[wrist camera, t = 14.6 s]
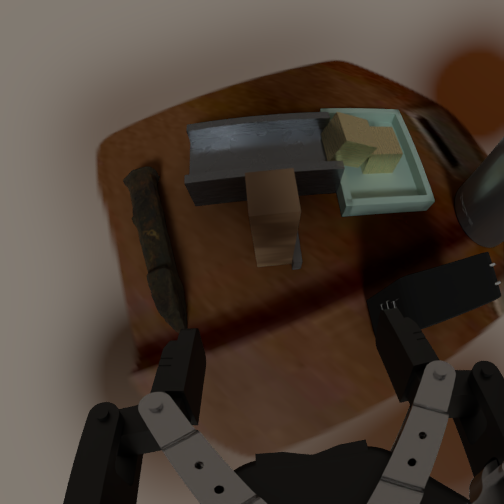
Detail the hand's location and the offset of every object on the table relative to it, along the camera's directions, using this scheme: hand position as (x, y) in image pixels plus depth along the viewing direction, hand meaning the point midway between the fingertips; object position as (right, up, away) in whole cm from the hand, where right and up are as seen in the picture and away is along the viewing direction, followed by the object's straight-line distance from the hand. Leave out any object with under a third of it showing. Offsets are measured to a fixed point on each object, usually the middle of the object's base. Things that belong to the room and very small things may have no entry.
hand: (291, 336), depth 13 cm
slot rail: (0, +13, +23) cm, 26 cm away
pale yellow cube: (+8, +15, +20) cm, 26 cm away
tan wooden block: (0, +4, +19) cm, 20 cm away
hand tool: (-11, +4, +21) cm, 24 cm away
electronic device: (+15, -2, +17) cm, 22 cm away
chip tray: (+13, +15, +22) cm, 30 cm away
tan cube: (+11, +15, +20) cm, 27 cm away
